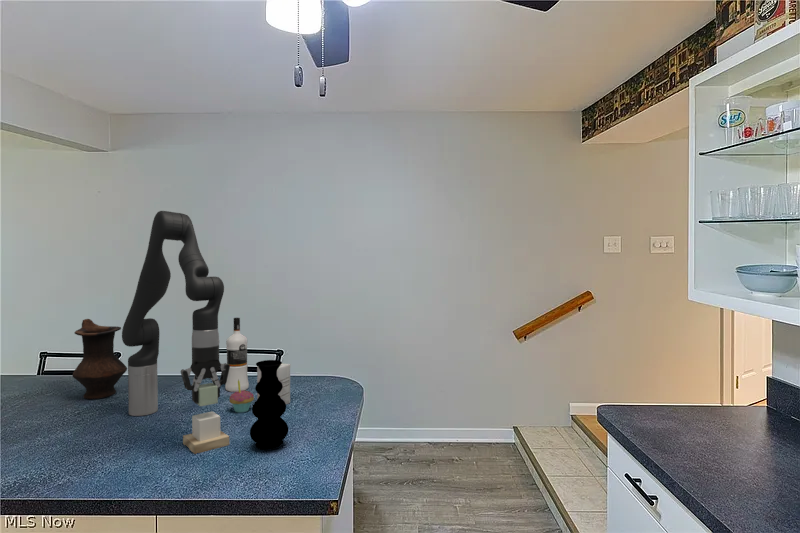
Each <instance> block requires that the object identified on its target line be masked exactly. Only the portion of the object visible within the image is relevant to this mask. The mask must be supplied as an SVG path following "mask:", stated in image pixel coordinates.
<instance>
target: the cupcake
mask: <svg viewBox="0 0 800 533" xmlns="http://www.w3.org/2000/svg"><path fill="white" fill-rule="evenodd" d="M238 389H239V391H237V392H232V393H231V394H230V395H229V400H228V402H230V404H232V407H233V410H234V412H235V413H246V412H249V410H250V406H251V404H252V403H253V402H254V400H255V397H254V394H253V393H252V392H251V391H248V390H240V381H239V379H238Z"/></svg>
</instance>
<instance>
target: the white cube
mask: <svg viewBox="0 0 800 533" xmlns="http://www.w3.org/2000/svg"><path fill="white" fill-rule="evenodd" d="M191 417H192V418H191V419H192V420H191V421H192V422H191V424H192V426H191V428H192V430H191V431H192V433H191V434H192V436H193V437H195V438H196V439H197V440H199V441H204V440H208V439H212V438H216V437H220V431H221V416H220V415H219V414H217V413H216V412H214V411H212V410H211V411H208V412H203V413H197V414H194V415H192V416H191Z"/></svg>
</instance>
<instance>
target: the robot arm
mask: <svg viewBox="0 0 800 533" xmlns="http://www.w3.org/2000/svg"><path fill="white" fill-rule="evenodd" d="M165 240H167V241H168V240H169V241H177V242H178V241H181V243H183V246H182V247H181V250H180V251H179V254H178V258H177V259H178V265H179V267H180V269H181V271H182V273H183V275H184V282H185V295H186V297H187V298H188V299H189V300H191V301H192V302H203V301H208V302H207V303H206V305H205V306H204V307H201V308H197V309H195V310H193V312H192V317H191V318H192V319H191V320H192V331H191V365H190V367H188V368H185V369H184V368H183V369H181V370H180V374H181V375H180V376H181V379H182V381H183V386H184V388H185V389H186V390H188V391H191V400H192V402H193V403H194V404H196V405H198V403H199V391H198V388H199V385H202V384H201V383H202V382H203V380H206V379H211V381H212V382H211V383H213V384H215V385H216V386H218V399H220V397H221V386H224V385H226V382H227V377H228V373H229V369H230V365H229V364H227V362H225V363H221V362H220V333H219V311H220V307H221V303H222V300H223V296H224V292H225V285H224V281H223V280H222V279H221V278H220V277H219V276H209V272H210V270H209V269H210V268H209V266H208V265H207V263H206V260H205V259H204V257H203V255H202V253H201V251H200V248H199V244H198V240H197V236H196V231H195V227H194V225H193V221H192V219H191V217H190V216H189V215H188V214H186V213H181V212H174V211H167V210H159V211H157V213H155V216H154V218H153V220H152V226H151V229H150V236H149V241H148V246H147V249H146V250H147V251H146V255H145V259H144V261H143V265H142V268H141V270H140V274H139V278H138V282H137V286H136V289H135V293H134V297H133V299H132V303H131V305H130V309H129V311H128V313H127V315H126V317H125V318H126V319H125V320H124V323H123V327H122V328H121V330H122V331H121V340H122V343H123V344H124V345H125V346H126V347H129V348H130V347H131V348H132V347H139V346H141V348H140V349H139V350H138V351H137V352H136V353H134V354H131V355H130V356H129V357H128V359H127V374H128V375H127V376H128V377H127V382H128V383H127V386H128V387H127V388H128V389H127V390H128V391H127V392H128V399H127V400H128V415H129V416H133V417H134V416H135V417H141V416H147V415H151V414H155V413H157V412H158V410H159V409H158V408H159V406H158V405H159V404H158V402H159V399H158V397H159V395H158V386H159V385H158V383H159V382H158V357H159V355H160V354H159V352H160V351H159V350H160V349H159V348H160V326H159V323H158V321H157V320H156V319H155V318H151V317H150V318H145V317H146V316H147V314H148V313H149V312H150V311H151V310H152V309H153V307H154V306H156V305H157V303H159V301H161V299H162V298H163V297H164V296H165V295H166V294H167V290H168V288H169V283H170V280H171V278H172V276H171V268H170V267H169V265H168V263H167V260H166V258H165V255H164V252H163V246H164V241H165ZM219 369H220V371H221V373H220V377H218V375H217V372H219ZM191 372H192V374H194V377H193V380H192V384H191V381H190V380H191V379H190V376H191Z"/></svg>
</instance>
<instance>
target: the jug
mask: <svg viewBox="0 0 800 533" xmlns="http://www.w3.org/2000/svg"><path fill="white" fill-rule="evenodd" d="M121 330H122V327H121V326H109V325H107V326H106V325H99V324H96V323H95V322H93V320H92V319H90V318H85V319H82V321H81V328H79V329H77V330H75V331H74V335H76V336H80V337H81V340H82V348H83V349H82V354H83V357H82V359H81V361H80V362H79V364H78V365H77V367H76V368H75V369H74V371H73V373H72V378H73V379H74V380H76V381H77V382H79V384H81V385H82V386H83V387H84V388H85V392H84V394H83V396H82V397H83V399H84V400H91V399H92V400H100V399H104V398H108V397H111V396H114V395H115V394H116V393H117V389H115V388H116V387H115V386H116V384H117V383H118V382H119V380H120V379H122V377H123V375H124V374H125V373H126V372H128V366H126V365H125V364H124V363H123V361H122V360H120V359H119V358H118V356H116V355H115V352H114V347H115V345H114V343H115V342H114V340H115V336H116V332H119V331H121Z"/></svg>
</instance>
